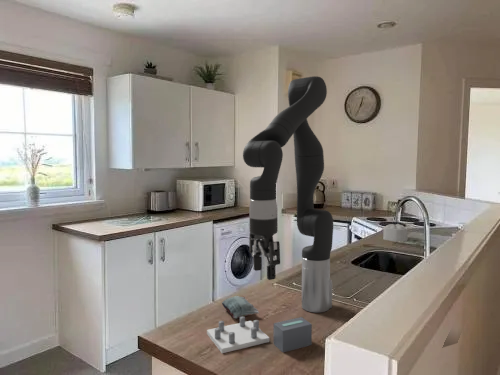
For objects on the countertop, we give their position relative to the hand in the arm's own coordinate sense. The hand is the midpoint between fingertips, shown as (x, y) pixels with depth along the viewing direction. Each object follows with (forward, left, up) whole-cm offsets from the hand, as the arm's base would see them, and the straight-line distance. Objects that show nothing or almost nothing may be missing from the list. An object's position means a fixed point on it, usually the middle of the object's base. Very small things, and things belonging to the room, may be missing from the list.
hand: (264, 274), depth 105 cm
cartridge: (-6, +5, -19) cm, 21 cm away
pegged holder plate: (+6, -5, -19) cm, 20 cm away
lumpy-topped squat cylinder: (-126, -75, -19) cm, 148 cm away
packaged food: (-2, -20, -19) cm, 28 cm away
